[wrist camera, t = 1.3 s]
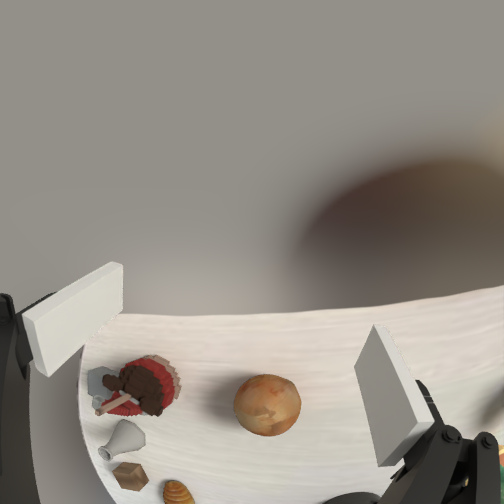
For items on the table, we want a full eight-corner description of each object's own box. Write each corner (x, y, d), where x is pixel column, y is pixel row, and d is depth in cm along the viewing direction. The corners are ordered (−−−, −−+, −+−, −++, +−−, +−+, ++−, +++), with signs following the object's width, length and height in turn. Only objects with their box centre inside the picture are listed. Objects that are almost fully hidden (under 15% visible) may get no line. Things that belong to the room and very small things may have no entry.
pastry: (161, 476, 41) (153, 484, 38) (190, 481, 40) (183, 491, 37) (170, 503, 40) (164, 512, 36) (198, 508, 39) (193, 518, 35)
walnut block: (149, 480, 41) (139, 491, 36) (132, 478, 42) (121, 488, 37) (140, 463, 42) (129, 474, 37) (123, 461, 43) (112, 471, 38)
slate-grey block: (121, 396, 45) (107, 403, 40) (102, 387, 46) (88, 393, 41) (122, 374, 45) (107, 380, 40) (103, 366, 46) (87, 371, 41)
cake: (191, 370, 43) (136, 408, 26) (178, 412, 43) (125, 458, 25) (140, 344, 45) (72, 363, 28) (130, 385, 45) (67, 415, 27)
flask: (114, 434, 44) (87, 452, 34) (121, 413, 44) (92, 430, 34) (141, 454, 42) (117, 476, 33) (150, 433, 43) (124, 455, 33)
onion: (229, 399, 42) (212, 424, 32) (263, 355, 42) (253, 372, 32) (276, 429, 40) (271, 460, 30) (313, 386, 40) (316, 411, 30)
